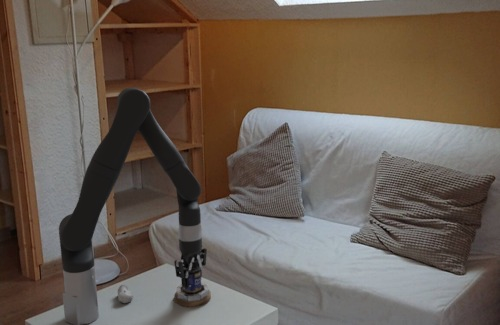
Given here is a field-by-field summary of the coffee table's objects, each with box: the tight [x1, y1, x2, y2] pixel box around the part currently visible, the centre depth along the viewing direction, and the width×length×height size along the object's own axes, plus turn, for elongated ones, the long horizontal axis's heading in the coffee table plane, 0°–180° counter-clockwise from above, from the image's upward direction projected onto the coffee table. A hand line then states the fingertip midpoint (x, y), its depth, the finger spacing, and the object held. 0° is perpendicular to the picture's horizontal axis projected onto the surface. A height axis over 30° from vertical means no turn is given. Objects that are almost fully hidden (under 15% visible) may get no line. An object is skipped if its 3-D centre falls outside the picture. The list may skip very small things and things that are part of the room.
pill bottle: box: [183, 260, 202, 294], centre depth 174 cm, size 6×6×11 cm
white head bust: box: [117, 284, 134, 304], centre depth 176 cm, size 4×8×5 cm
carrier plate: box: [174, 282, 212, 308], centre depth 176 cm, size 12×12×4 cm
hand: (191, 283), depth 175 cm, fingers closed on pill bottle, 6 cm apart
